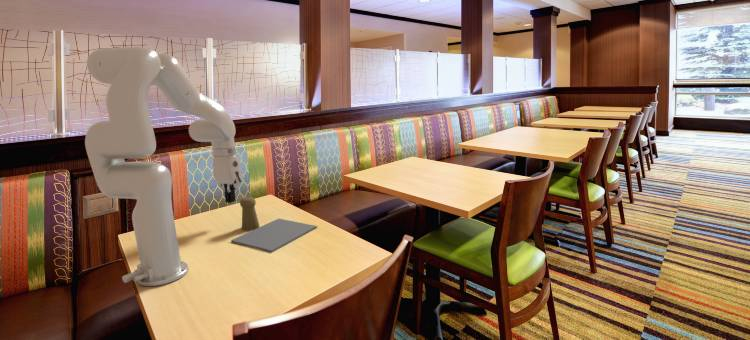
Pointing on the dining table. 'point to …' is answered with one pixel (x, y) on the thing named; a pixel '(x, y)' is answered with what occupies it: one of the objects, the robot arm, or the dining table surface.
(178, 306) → the dining table surface
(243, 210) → the cork
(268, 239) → the mat
